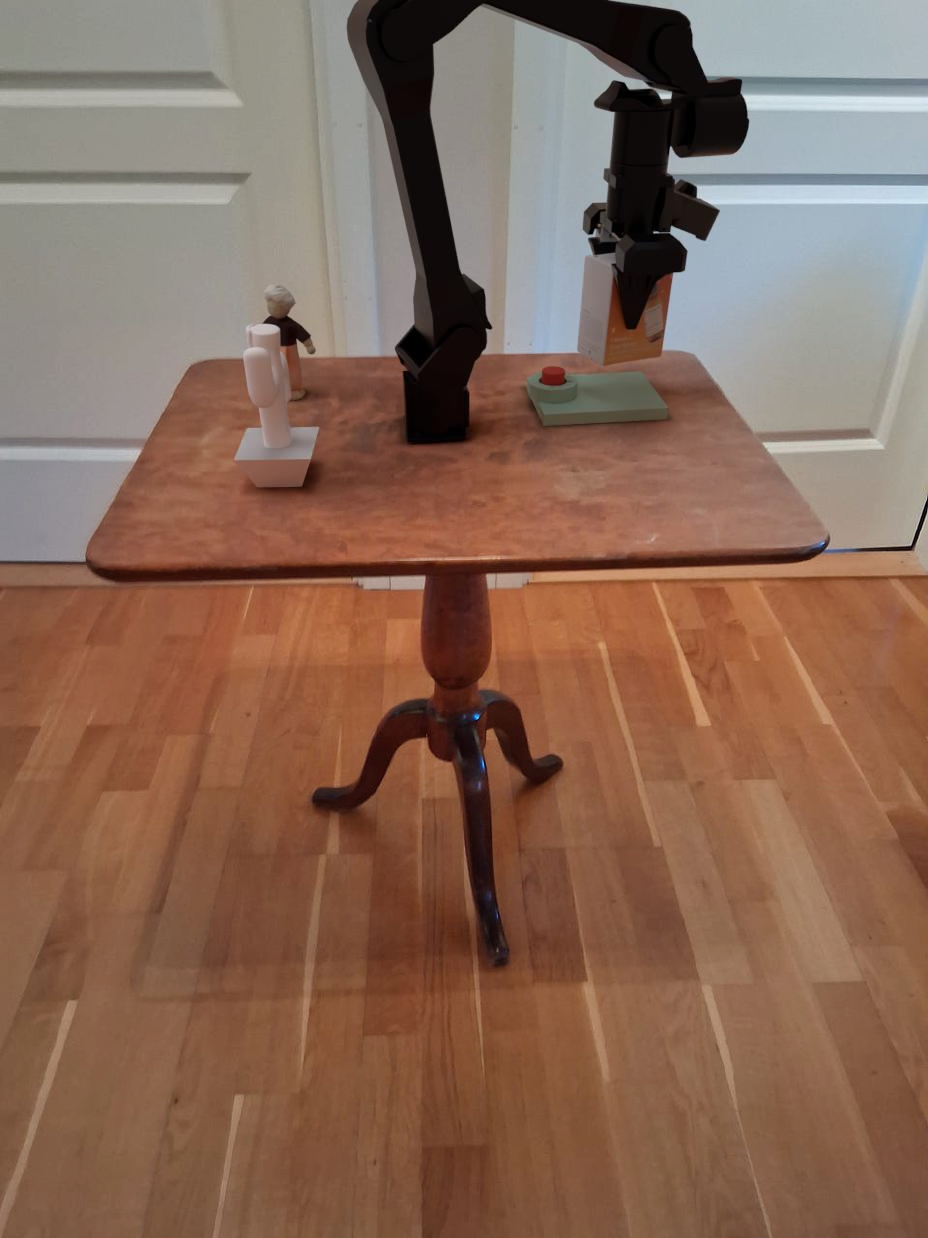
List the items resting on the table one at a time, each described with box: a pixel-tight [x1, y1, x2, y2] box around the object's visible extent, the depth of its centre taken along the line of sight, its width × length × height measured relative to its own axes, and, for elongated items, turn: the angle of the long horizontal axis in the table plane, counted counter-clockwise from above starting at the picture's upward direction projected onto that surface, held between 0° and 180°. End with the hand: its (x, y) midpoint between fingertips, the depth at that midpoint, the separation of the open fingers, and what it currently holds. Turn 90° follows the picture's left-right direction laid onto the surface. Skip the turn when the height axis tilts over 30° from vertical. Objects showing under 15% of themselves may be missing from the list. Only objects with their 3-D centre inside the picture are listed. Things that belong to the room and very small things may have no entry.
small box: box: [576, 253, 674, 367], centre depth 97 cm, size 8×6×10 cm
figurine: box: [233, 323, 320, 488], centre depth 85 cm, size 7×9×15 cm
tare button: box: [541, 365, 566, 386], centre depth 101 cm, size 3×3×2 cm
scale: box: [525, 370, 669, 427], centre depth 103 cm, size 15×11×3 cm
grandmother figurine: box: [261, 284, 317, 401], centre depth 102 cm, size 8×4×13 cm, turn 77°
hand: (622, 318), depth 98 cm, fingers closed on small box, 6 cm apart
